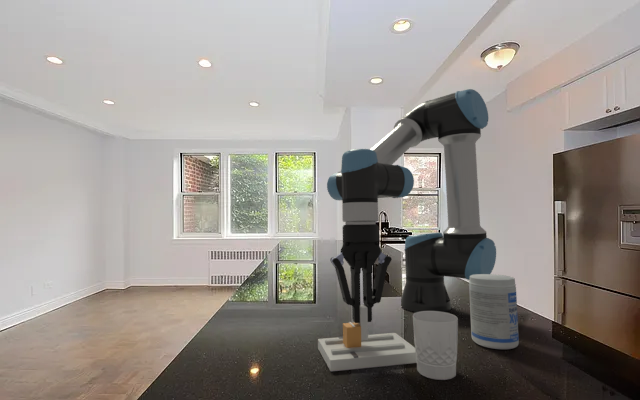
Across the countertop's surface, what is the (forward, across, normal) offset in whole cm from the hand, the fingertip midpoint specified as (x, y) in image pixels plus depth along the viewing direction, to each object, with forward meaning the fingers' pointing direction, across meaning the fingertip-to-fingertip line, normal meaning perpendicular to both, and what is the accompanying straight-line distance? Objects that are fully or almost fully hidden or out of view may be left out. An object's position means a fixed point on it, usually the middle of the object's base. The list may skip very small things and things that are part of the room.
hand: (362, 338), depth 72 cm
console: (+4, -1, 0) cm, 4 cm away
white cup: (+4, -10, +10) cm, 15 cm away
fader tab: (+1, +2, 0) cm, 3 cm away
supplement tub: (+4, -31, 0) cm, 31 cm away
